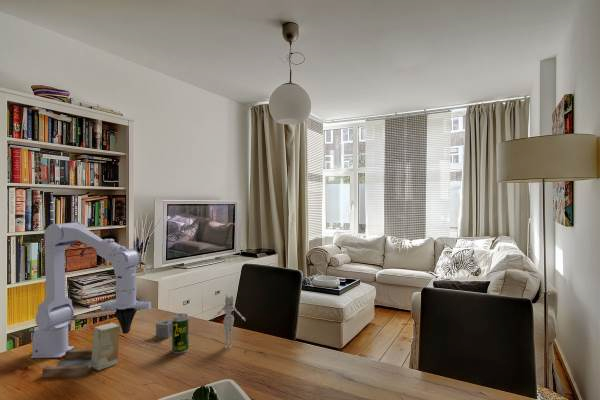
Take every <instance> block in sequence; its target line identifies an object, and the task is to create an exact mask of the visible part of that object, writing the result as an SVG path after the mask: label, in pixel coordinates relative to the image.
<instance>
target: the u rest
mask: <svg viewBox="0 0 600 400" xmlns="http://www.w3.org/2000/svg"><path fill="white" fill-rule="evenodd" d="M64 356H65V358H64V359H63V360H62V361H60V362H59V363H58V364H57V365H54V366H53V365H52V366H51V365H50V366H44V367H43V368H42V378H71V377H72V378H75V377H79V378H80V377H87V376H88V375H89V374H90V373H91V372H92V371H93V370H94V369H95V368H93V367H91V359H92V348H91V349H90V348H89V349H88V348H87V349H80V348H79V349H71V350H67V351H66V352H65V355H64Z"/></svg>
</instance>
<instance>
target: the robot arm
mask: <svg viewBox="0 0 600 400" xmlns="http://www.w3.org/2000/svg"><path fill="white" fill-rule="evenodd" d="M76 242H81V243H83V244H84V245H86V246H89V247H90V248H93V249H95V252H96V254H97V256H100V257H101V258H103V259H105V260H106V261H108V262H110V263H111V266H112V268H113V271H114V275H115V301H108V302H107V301H105V302H102V303H101V304H100V311H105V310H108V311H109V310H110V311H111V310H112V311H113V310H114V311H115V312H114V316H115V318H116V319H117V321H118V323H119V326H120V329H121V331H122V335H123V334H124V335H125V334H128V333H130V331H131V327H132V323H133V320H134V318H135V315H136V313H137V311H138V310H147V311H149V310H151V309H152V301H145V300H144V301H143V300H142V301H141V300H137V266H139V265H140V263H141V254H140V252H139V251H138V250H136V248H129V249H128V248H126V246H125V245H120V244H119V243H118V242H115V239H113V238H104V239H102V238H101V237H100V236H98V234H95V233H94V232H92V231H91V230H90V229H88V228H87V226H86V224H83V223H81V222H80V221H73V222H67V223H52V224H50V225H48V226H47V227H46V228H45V229H44V262H45V264H44V268H45V270H44V271H45V273H44V274H45V299H44V300H42V302H41V303H40V304H39V305H38V306H37V312H36V315H35V324H36V326H37V328H36V329H35V330H34V332H33V334H32V355H31V359H41V358H42V359H43V358H44V359H47V358H48V359H50V358H62V357H63V356H66V355H65V352H66V351H67V350H74V348H75V346H74V345H69V325H70V324H71V321H72V319H73V318H74V316H75V309H74V307H73V300H72V299H70V298H69V297H67V296H66V267H65V264H66V263H65V261H66V260H65V259H66V257H65V256H66V255H65V251H66V250H67V248H69V247H70V246H71V245H73V244H74V243H76Z"/></svg>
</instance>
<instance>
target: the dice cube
mask: <svg viewBox="0 0 600 400" xmlns="http://www.w3.org/2000/svg"><path fill="white" fill-rule="evenodd" d="M155 337H156V338H159V339H160V338H161V339H169V338H172V319H162V320H160V321H159V322H157V323H156V324H155Z"/></svg>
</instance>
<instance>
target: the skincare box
mask: <svg viewBox="0 0 600 400" xmlns="http://www.w3.org/2000/svg"><path fill="white" fill-rule="evenodd" d="M120 329H121V325H120V324H117V323H115V322H110V323H106V324H102V325H98V326H94V327H93V334H92V336H93V337H92V346H91V347H92V348H91V349H92V359H91V367H93V368H94V369H95V370H97V371H101V370H103V369H107V368H110V367H112V366H115V365H116V364H118V356H119V341H120Z"/></svg>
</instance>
